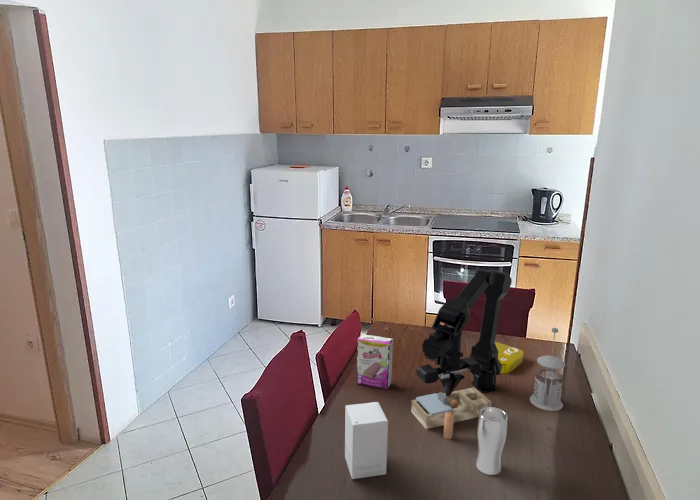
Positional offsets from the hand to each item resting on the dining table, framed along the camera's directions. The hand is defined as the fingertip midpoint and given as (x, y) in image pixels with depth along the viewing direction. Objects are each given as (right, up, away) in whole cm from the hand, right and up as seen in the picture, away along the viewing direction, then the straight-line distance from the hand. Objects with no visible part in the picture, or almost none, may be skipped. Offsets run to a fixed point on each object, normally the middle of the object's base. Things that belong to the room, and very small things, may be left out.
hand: (447, 395), depth 140 cm
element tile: (+26, +2, +36) cm, 44 cm away
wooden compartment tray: (+1, -6, +2) cm, 6 cm away
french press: (+32, -5, +8) cm, 34 cm away
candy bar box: (-21, -2, +18) cm, 28 cm away
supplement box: (-25, -11, -21) cm, 34 cm away
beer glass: (+6, -12, -21) cm, 25 cm away
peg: (-2, -8, -9) cm, 13 cm away
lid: (-4, -2, -1) cm, 5 cm away
